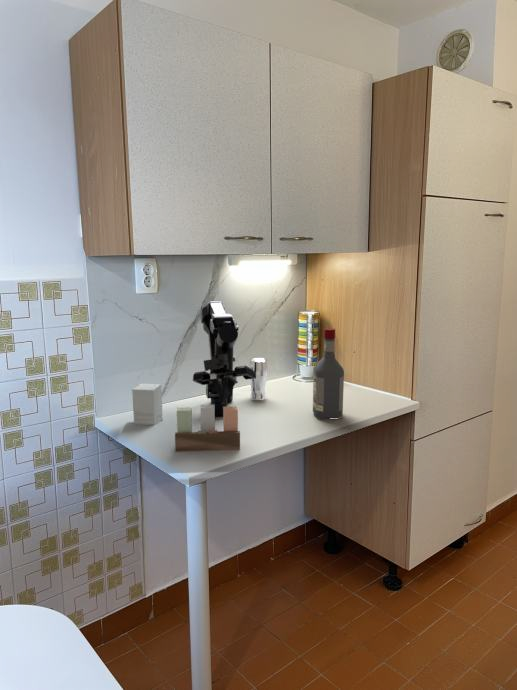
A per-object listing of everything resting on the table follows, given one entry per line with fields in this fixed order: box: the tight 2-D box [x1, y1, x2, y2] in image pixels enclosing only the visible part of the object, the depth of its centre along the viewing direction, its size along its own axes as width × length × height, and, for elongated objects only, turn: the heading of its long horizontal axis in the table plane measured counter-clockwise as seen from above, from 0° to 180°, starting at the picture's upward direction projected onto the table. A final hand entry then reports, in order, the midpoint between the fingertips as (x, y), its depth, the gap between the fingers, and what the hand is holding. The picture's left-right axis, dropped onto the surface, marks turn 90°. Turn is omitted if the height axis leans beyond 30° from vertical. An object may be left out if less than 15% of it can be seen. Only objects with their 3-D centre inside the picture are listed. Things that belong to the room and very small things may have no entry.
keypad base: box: [174, 429, 241, 452], centre depth 154 cm, size 8×18×6 cm, turn 95°
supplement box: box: [131, 383, 164, 426], centre depth 174 cm, size 7×7×13 cm
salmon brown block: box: [222, 405, 239, 431], centre depth 154 cm, size 3×4×11 cm
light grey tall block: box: [199, 404, 216, 432], centre depth 155 cm, size 3×4×11 cm
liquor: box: [312, 327, 345, 420], centre depth 181 cm, size 9×9×30 cm
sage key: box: [176, 406, 193, 432], centre depth 152 cm, size 3×4×11 cm
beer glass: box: [248, 357, 268, 402], centre depth 203 cm, size 7×7×15 cm
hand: (222, 403), depth 161 cm, fingers closed
